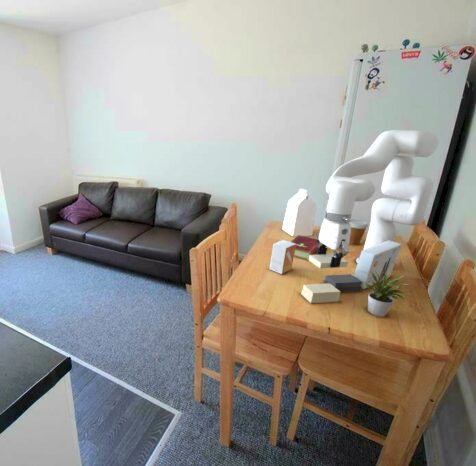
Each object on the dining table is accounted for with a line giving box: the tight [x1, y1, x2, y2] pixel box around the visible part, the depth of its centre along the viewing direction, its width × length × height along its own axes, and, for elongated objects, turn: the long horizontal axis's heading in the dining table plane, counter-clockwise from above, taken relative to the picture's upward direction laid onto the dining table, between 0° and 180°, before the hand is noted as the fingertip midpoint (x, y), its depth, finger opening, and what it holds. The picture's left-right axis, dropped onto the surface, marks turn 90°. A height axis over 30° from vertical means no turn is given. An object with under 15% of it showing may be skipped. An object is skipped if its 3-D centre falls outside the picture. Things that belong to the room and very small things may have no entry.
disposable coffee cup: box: [349, 219, 369, 246], centre depth 166 cm, size 10×10×12 cm
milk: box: [281, 188, 317, 237], centre depth 180 cm, size 12×12×26 cm
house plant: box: [359, 270, 410, 317], centre depth 108 cm, size 14×14×16 cm
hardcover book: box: [290, 235, 318, 261], centre depth 161 cm, size 12×21×4 cm, turn 135°
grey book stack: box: [322, 273, 362, 293], centre depth 126 cm, size 11×6×4 cm, turn 93°
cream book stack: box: [300, 283, 341, 304], centre depth 120 cm, size 11×6×4 cm, turn 93°
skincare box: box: [353, 240, 403, 290], centre depth 128 cm, size 21×6×16 cm, turn 118°
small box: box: [269, 239, 296, 275], centre depth 141 cm, size 8×6×13 cm
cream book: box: [308, 253, 349, 269], centre depth 115 cm, size 10×7×2 cm
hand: (327, 261), depth 115 cm, fingers closed on cream book, 7 cm apart
